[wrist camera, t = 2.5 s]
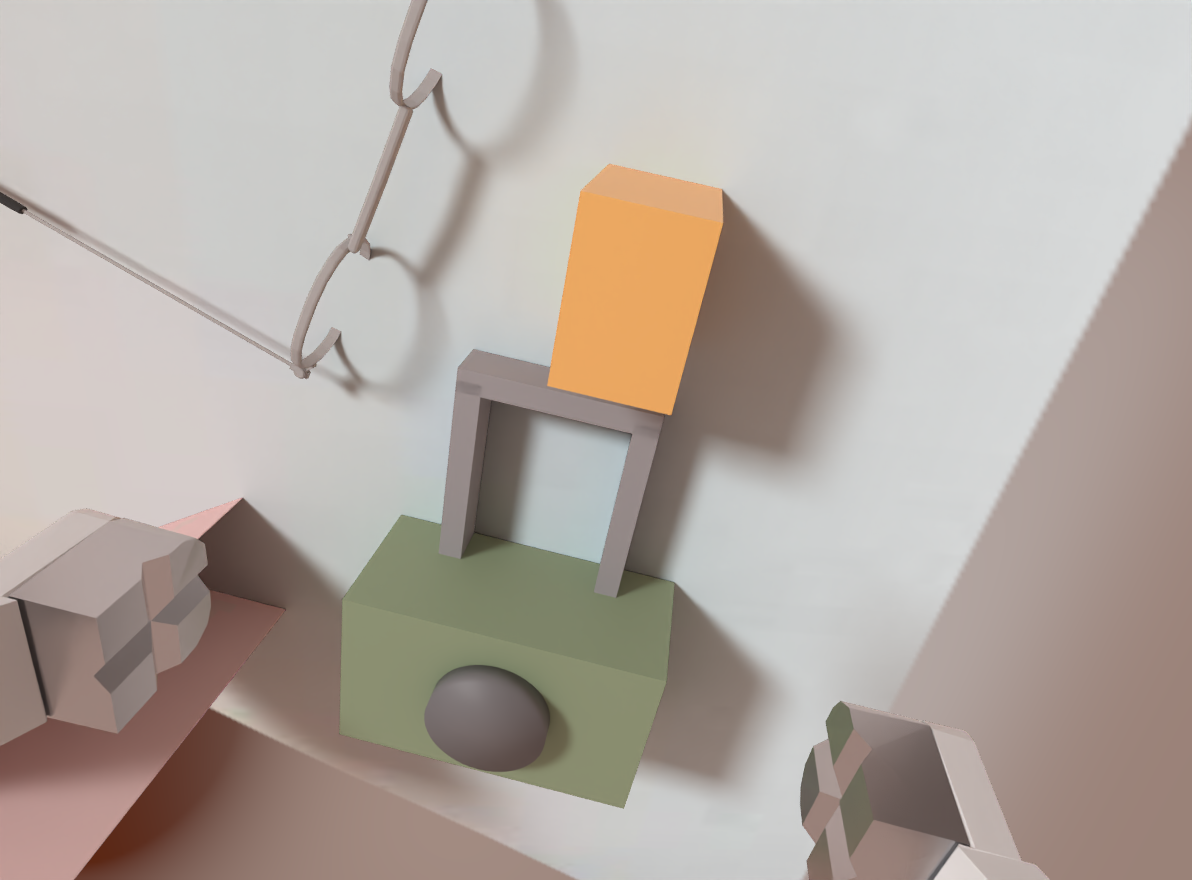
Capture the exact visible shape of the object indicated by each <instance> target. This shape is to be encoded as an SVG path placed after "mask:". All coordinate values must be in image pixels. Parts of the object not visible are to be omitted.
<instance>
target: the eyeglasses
mask: <svg viewBox="0 0 1192 880" xmlns="http://www.w3.org/2000/svg"><path fill="white" fill-rule="evenodd" d="M427 1H428V0H412V1H411V3H410V6H409V9H408V12H407V15H406V18H405V21H404V24H403V27H402V30H401V32H400V35H399V39H398V42H397V46H396V50H395V54H394V58H393V62H392V65H391V75H390V85H389V88H390V97H391V99H392V100H393V101H394V102H395V103H396V104H397V105H398V106H400V107H399V109H398V112H397V115H396V118H395V120H394V123H393V126H392V129H391V131H390V134H389V137H388V140H387V142H386V145H385V148H384V150H383V153H382V156H381V159H380V161H379V164H378V167H377V170H376V172H375V175H374V178H373V181H372V183H371V186H370V189H369V191H368V194H367V196H366V199H365V202H364V204H363V207H362V210H361V212H360V215H359V218H358V220H357V223H356V226H355V228H354V231H353V234H348V238H347V239H346V240H344V241H343V242H342V243H341V244H339V245H338V246H337V247H336V248H335V250H334V251H333V252H332V253H331V255H330V256H329V257H328V259H327V260H326V262H325V264H324V265H323V267H322V268H321V270H320V272H319V273H318V275H317V277H316V279H315V281H314V283H313V285H312V287H311V290H310V292H309V294H308V296H307V298H306V301H305V304H304V306H303V309H302V312H301V315H300V317H299V320H298V323H297V326H296V329H295V332H294V335H293V340H292V344H291V361H292V362H293V363H291V362H289V361H287V360H285V359H284V358H282V357H280V356H278V355H277V354H275V353H273V352H272V351H270V350H268V349H266V348H265V347H263V346H261V345H259V344H258V343H256V342H254V341H252V340H251V339H249V338H247V337H245V336H244V335H242V334H240V333H238V332H237V331H235V330H233V329H232V328H230V327H228V326H226V325H225V324H223V323H221V322H219V321H218V320H216V319H214V318H212V317H211V316H209V315H207V314H205V313H204V312H202V311H200V310H198V309H197V308H195V307H193V306H192V305H190V304H188V303H186V302H185V301H183V300H181V299H179V298H178V297H176V296H174V295H172V294H171V293H169V292H167V291H165V290H164V289H162V288H160V287H158V286H157V285H155V284H153V283H152V282H150V281H148V280H146V279H145V278H143V277H141V276H139V275H138V274H136V273H134V272H132V271H131V270H129V269H127V268H125V267H124V266H122V265H120V264H118V263H117V262H115V261H113V260H112V259H110V258H108V257H106V256H105V255H103V254H101V253H99V252H98V251H96V250H94V249H92V248H91V247H89V246H87V245H85V244H84V243H82V242H80V241H78V240H77V239H75V238H73V237H72V236H70V235H68V234H66V233H65V232H63V231H61V230H59V229H58V228H56V227H54V226H52V225H51V224H49V223H47V222H45V221H44V220H42V219H40V218H39V217H37V216H35V215H33V214H32V213H30V212H28V211H27V208H26V207H25V206H23V205H21V204H20V203H18V202H16V201H15V200H13V199H11V198H10V197H8V196H6V195H4V194H3V193H1V192H0V203H1V204H3V205H5V206H7V207H8V208H10V209H12V210H14V211H16V212H18V213H19V214H23V213H25V214H26V215H28V216H30V217H32V218H33V219H35V220H37V221H39V222H40V223H42V224H44V225H46V226H47V227H49V228H51V229H53V230H54V231H56V232H58V233H60V234H61V235H63V236H65V237H66V238H68V239H70V240H72V241H73V242H75V243H77V244H79V245H80V246H82V247H84V248H86V249H87V250H89V251H91V252H93V253H94V254H96V255H98V256H100V257H101V258H103V259H105V260H107V261H108V262H110V263H112V264H113V265H115V266H117V267H119V268H120V269H122V270H124V271H126V272H127V273H129V274H131V275H133V276H134V277H136V278H138V279H140V280H141V281H143V282H145V283H147V284H148V285H150V286H152V287H153V288H155V289H157V290H159V291H160V292H162V293H164V294H166V295H167V296H169V297H171V298H173V299H174V300H176V301H178V302H180V303H181V304H183V305H185V306H187V307H188V308H190V309H192V310H194V311H195V312H197V313H199V314H200V315H202V316H204V317H206V318H207V319H209V320H211V321H213V322H214V323H216V324H218V325H220V326H221V327H223V328H225V329H227V330H228V331H230V332H232V333H234V334H235V335H237V336H239V337H241V338H242V339H244V340H246V341H247V342H249V343H251V344H253V345H254V346H256V347H258V348H260V349H261V350H263V351H265V352H267V353H268V354H270V355H272V356H274V357H275V358H277V359H279V360H281V361H282V362H284V363H286V364H288V365H289V366H290V369H291V370H293V371H294V374H295V376H296V377H298V378H300V379H303V378H305V379H307V378H309V375H310V373H311V372H310V369H312V368H314V367H315V366H316V363H317V362H318V361H319V360H321V359H322V358H323V356H324V355H325V354H326V353H327V352H328V351H329V350H330V348H331V347H332V346H333V344H334V343H335V342H336V340H337V338H338V337H339V335H340V333H341V331H339V330H337V329H335V328H333V327H332V328H331V329H330V331H329V333H328V335H327V336H326V338H325V339H324V340H323V342H322V343H321V344H320V345H319V346H318V347H317V349H316V350H315V351H314V352H313V353H311V354H310V355H309V356H307V357H306V358H304V359H302V347H303V343H304V339H305V336H306V333H307V330H308V328H309V325H310V322H311V319H312V317H313V314H314V311H315V309H316V306H317V304H318V302H319V299H320V297H321V295H322V293H323V291H324V289H325V286H326V284H327V282H328V281H329V279H330V278H331V276H332V274H333V273H334V271H335V269H336V268H337V266H338V265H339V263H340V262H341V261H342V260H343V258H344V257H345V256H346V254H348V253H349V252H350V251H351V252H352V253H357V252H358V251H359V250H360V255H362V256H363V257H365V258H366V259H368V260H369V259H370V253H371V250H370V243H369V242H368V241H367V239H366V238H365V237H366V234H367V232H368V229H369V227H370V224H371V222H372V219H373V216H374V214H375V211H376V209H377V206H378V204H379V201H380V199H381V196H382V194H383V191H384V188H385V186H386V183H387V181H388V178H389V175H390V173H391V170H392V167H393V164H394V162H395V159H396V156H397V154H398V151H399V148H400V146H401V143H402V140H403V138H404V135H405V132H406V130H407V127H408V124H409V121H410V119H411V116H412V113H413V109H415V108H417V107H418V106H419V105H420V104H421V103H422V102H423V101H424V100H425V99H426V98H427V97H428V95H429V94H430V92H431V91H432V90H433V88H434V87H435V86H436V84H437V82H438V81H439V79H440V77H441V75H442V74H441V73H439V72H437V71H436V70H434V69H432V68H431V69H430V71H429V72H428V74H427V76H426V77H425V79H424V80H423V81H422V83H421V84H420V86H419V87H418V88H417V90H416V91H415V92H414V93H413V94H412V95H410V96H409V97H408V98H407V99H404V100H403V96H402V88H403V79H404V71H405V67H406V64H407V60H408V57H409V53H410V49H411V46H412V42H413V40H414V37H415V34H416V31H417V28H418V25H419V23H420V20H421V17H422V14H423V12H424V9H425V6H426V3H427Z"/></svg>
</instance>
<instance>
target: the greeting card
mask: <svg viewBox="0 0 1192 880" xmlns="http://www.w3.org/2000/svg"><path fill="white" fill-rule="evenodd" d="M241 499H243V498H240V499H237V500H234V501H231V502H228V503H225V504H223V505H220V506H217V507H214V508H211V509H209V510H206V511H203V512H200V513H197V514H194V515H192V516H189V517H186V518H183V519H180V520H177V521H175V522H172V523H169V524H166V525H163V526H160V527H158V528H162V529H166V530H169V531H173V532H176V533H180V534H183V535H187V536H191V537H194V538H197V539H199V538H200V537H201V536H202V535H203V534H205V533H206V532H207V531H208V530H209V529H210V528H211V527H212V526H213V525H214V524H215V523H216V522H218V521H219V520H220V519H221V518H222V517H223V516H224V515H225V514H226V513H227V512H228V511H230V510H231V509H232V508H233V507H234V506H235V505H236V504H237V503H238V502H239V501H240V500H241ZM208 590H209V589H208ZM209 591H210V598H211V609H210V615H209V620H208V624H207V626H206V628H205V630H204V632H203V634H202V636H201V638H200V640H199V642H198V644H197V646H196V647H195V648H194V650H193V651H192V652H191V653H190V654H189V655H188V656H187V658H186V659H185V660H184V661H183V662H182V663H181V664H179V665H176V666H174V667H172V668H170V669H167V670H165V671H163V672H160V673H158V674H157V691H156V692H155V693H154V694H153V696H152V697H151V698H150V699H149V700H148V701H147V702H146V703H145V704H144V705H143V707H142V708H141V709H140V710H139V711H138V712H137V713H136V714H135V715H134V716H133V718H132V719H131V720H130V721H129V722H128V723H127V724H126V725H125V726H124V727H123V729H122V730H121V731H120V732H119V733H118V734H117V733H112V732H108V731H104V730H100V729H95V728H91V727H87V726H82V725H78V724H74V723H70V722H65V721H61V720H57V719H52V718H48V717H47V722H45V723H44V724H42V725H40V726H38V727H36V728H34V729H32V730H30V731H28V732H26V733H24V734H22V735H21V736H19V737H17V738H15V739H13V740H11V741H9V742H7V743H5V744H3V745H1V746H0V880H74V879H75V878H76V876H77V875H78V874H79V873H80V871H81V870H82V869H83V868H84V866H85V865H86V864H87V862H88V861H89V860H90V859H91V857H92V856H93V855H94V854H95V852H96V851H97V850H98V849H99V847H100V846H101V845H102V843H103V842H104V841H105V840H106V838H107V837H108V836H109V835H110V833H111V832H112V831H113V829H114V828H115V827H116V826H117V824H118V823H119V821H121V819H122V818H123V817H124V815H125V814H126V813H127V812H128V810H129V809H130V808H131V806H132V805H133V804H134V803H135V801H136V800H137V799H138V798H139V796H140V795H141V793H142V792H143V791H144V790H145V789H146V787H147V786H148V785H149V784H150V782H151V781H152V780H153V778H154V777H155V776H156V775H157V773H158V772H159V771H160V769H161V768H162V767H163V766H164V765H165V763H166V762H167V760H168V759H169V758H170V757H171V756H172V754H173V753H174V752H175V750H176V749H177V748H178V747H179V745H180V744H181V743H182V742H183V740H184V739H185V738H186V736H187V735H188V734H189V732H190V731H191V730H192V729H193V728H194V726H195V725H196V724H197V723H198V721H199V720H200V719H201V717H202V716H203V715H204V714H205V712H206V711H207V710H208V709H209V707H210V706H211V705H212V703H213V702H214V701H215V700H216V698H217V697H218V696H219V695H220V693H221V692H222V691H223V689H224V688H225V687H226V686H227V684H228V683H229V682H230V681H231V679H232V678H233V677H234V675H235V674H236V673H237V672H238V670H239V669H240V668H241V667H242V665H243V664H244V663H245V661H246V660H247V659H248V658H249V656H250V655H251V654H252V653H253V651H254V650H255V649H256V647H257V646H258V645H259V644H260V642H261V641H262V640H263V639H264V637H265V636H266V635H267V633H268V632H269V631H270V630H271V628H272V627H273V626H274V625H275V623H276V622H277V621H278V619H279V618H280V617H281V616H282V614H283V613H284V612H285V611H286V609H282V608H278V607H274V606H270V605H267V604H263V603H259V602H255V601H251V600H248V599H244V598H240V597H236V596H232V595H228V594H225V593H221V592H217V591H213V590H209Z"/></svg>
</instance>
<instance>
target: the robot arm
mask: <svg viewBox="0 0 1192 880" xmlns="http://www.w3.org/2000/svg"><path fill="white" fill-rule="evenodd" d="M207 565H208V562H207V555H206V548H205V543H203V542H201V541H200V540H198V539H197V538H194V537H191V536H187V535H183V534H180V533H176V532H173V531H169V530H166V529H162V528H158V527H155V526H151V525H148V524H144V523H141V522H137V521H133V520H130V519H126V518H119V517H115V516H112V515H109V514H105V513H102V512H98V511H95V510H91V509H88V508H86V509H80V510H75V511H71V512H69V513H68V514H66V515H65V516H63V517H62V518H60V519H59V520H57V521H56V522H55V523H53V524H52V525H50V526H49V527H47V528H46V529H44V530H43V531H41V532H40V533H38V534H37V535H35V536H34V537H32V538H31V539H29V540H28V541H26V542H25V543H23V544H22V545H20V546H19V547H17V548H16V549H14V550H13V551H11V552H10V553H8V554H7V555H5V556H4V557H3V558H1V559H0V746H1V745H3V744H5V743H7V742H9V741H11V740H13V739H15V738H17V737H19V736H21V735H22V734H24V733H26V732H28V731H30V730H32V729H34V728H36V727H38V726H40V725H42V724H44V723H45V722H47V717H48V718H52V719H57V720H61V721H65V722H70V723H74V724H78V725H82V726H87V727H91V728H95V729H100V730H104V731H108V732H112V733H117V734H118V733H119V732H120V731H121V730H122V729H123V727H124V726H125V725H126V724H127V723H128V722H129V721H130V720H131V719H132V718H133V716H134V715H135V714H136V713H137V712H138V711H139V710H140V709H141V708H142V707H143V705H144V704H145V703H146V702H147V701H148V700H149V699H150V698H151V697H152V696H153V694H154V693H155V692H156V691H157V674H158V673H160V672H163V671H165V670H167V669H170V668H172V667H174V666H176V665H179V664H181V663H182V662H183V661H184V660H185V659H186V658H187V656H188V655H189V654H190V653H191V652H192V651H193V650H194V648H195V647H196V646H197V644H198V642H199V640H200V638H201V636H202V634H203V632H204V630H205V628H206V626H207V624H208V620H209V615H210V609H211V598H210V591H209V590H208V588H207V587H206V586H205V584H204V583H203V582H202V580H201V579H200V578H199V576H198V574H199V573H200V572H201V571H202V570H203V569H204V568H205V567H206V566H207ZM826 726H827V732H828V738H829V739H827V740H825V741H823V742H821V743H819V744H817V745H815V746H813V748H812V751H811V753H810V755H809V757H808V759H807V762H806V764H805V768H804V773H803V778H802V783H801V797H800V807H801V816H802V825H803V827H804V828H805V829H806V831H807V832H808V834H809V835H810V836H811V838H812V839H813V841H814V842H815V843H816V845H815V846H814V848H813V850H812V852H811V854H810V856H809V858H808V859H807V868H808V876H809V880H1050V879H1049V878H1048V877H1047V876H1046V875H1045V874H1044V873H1043V872H1042V871H1041V870H1040V869H1039V868H1038V867H1037V866H1036V865H1035V864H1032V863H1028V862H1025V861H1022V859H1021V857H1020V854H1019V852H1018V850H1017V847H1016V844H1015V842H1014V840H1013V837H1012V835H1011V832H1010V830H1009V827H1008V824H1007V822H1006V820H1005V817H1004V814H1003V812H1002V809H1001V807H1000V805H999V802H998V799H997V797H996V794H995V792H994V790H993V787H992V785H991V782H990V780H989V777H988V775H987V772H986V769H985V767H984V764H983V762H982V759H981V757H980V755H979V752H978V749H977V747H976V744H975V742H974V740H973V738H972V737H971V736H970V735H969V734H968V733H967V732H966V731H965V730H960V729H956V728H952V727H948V726H943V725H939V724H935V723H931V722H927V721H919V720H917V719H913V718H909V717H905V716H901V715H896V714H892V713H888V712H884V711H880V710H876V709H872V708H868V707H864V706H860V705H856V704H851V703H847V702H843V701H840V702H839V703H838V704H837V705H836V706H834V707H833V709H832V711H831V713H830V715H829V717H828V718H827V720H826Z"/></svg>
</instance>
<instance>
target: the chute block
mask: <svg viewBox="0 0 1192 880" xmlns="http://www.w3.org/2000/svg"><path fill="white" fill-rule="evenodd" d="M722 226H723V203H722V189H719V188H715V187H710V186H706V185H701V184H697V183H693V182H688V181H684V180H679V179H675V178H670V177H666V176H661V175H657V174H652V173H648V172H644V171H639V170H635V169H630V168H626V167H621V166H617V165H612V164H608V165H607V166H606V167H605V168H604V169H603V170H602V171H601V172H600V173H599V174H598V175H597V176H596V177H595V178H594V179H593V180H591V181H590V182H589V183H588V184H587V185H586V186H585V187H584V188H583V189H582V190H581V192H580V197H579V203H578V209H577V215H576V221H575V227H574V232H573V238H572V244H571V250H570V256H569V261H568V267H567V273H566V279H565V285H564V291H563V296H562V302H561V308H560V314H559V320H558V325H557V331H556V337H555V343H554V349H553V355H552V360H551V366H550V372H549V378H548V384H547V386H550V387H554V388H558V389H562V390H567V391H571V392H575V393H579V394H583V395H588V396H592V397H596V398H600V399H604V400H609V401H613V402H617V403H621V404H625V405H630V406H634V407H638V408H642V409H646V410H650V411H655V412H659V413H663V414H667V415H671V414H672V410H673V407H674V403H675V399H676V396H677V392H678V388H679V385H680V381H681V377H682V373H683V370H684V366H685V362H686V359H687V355H688V351H689V348H690V344H691V340H692V337H693V333H694V329H695V326H696V322H697V318H698V314H699V311H700V307H701V303H702V300H703V296H704V292H705V289H706V285H707V281H708V278H709V274H710V270H711V267H712V263H713V259H714V255H715V252H716V248H717V244H718V241H719V237H720V233H721V230H722Z"/></svg>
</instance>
